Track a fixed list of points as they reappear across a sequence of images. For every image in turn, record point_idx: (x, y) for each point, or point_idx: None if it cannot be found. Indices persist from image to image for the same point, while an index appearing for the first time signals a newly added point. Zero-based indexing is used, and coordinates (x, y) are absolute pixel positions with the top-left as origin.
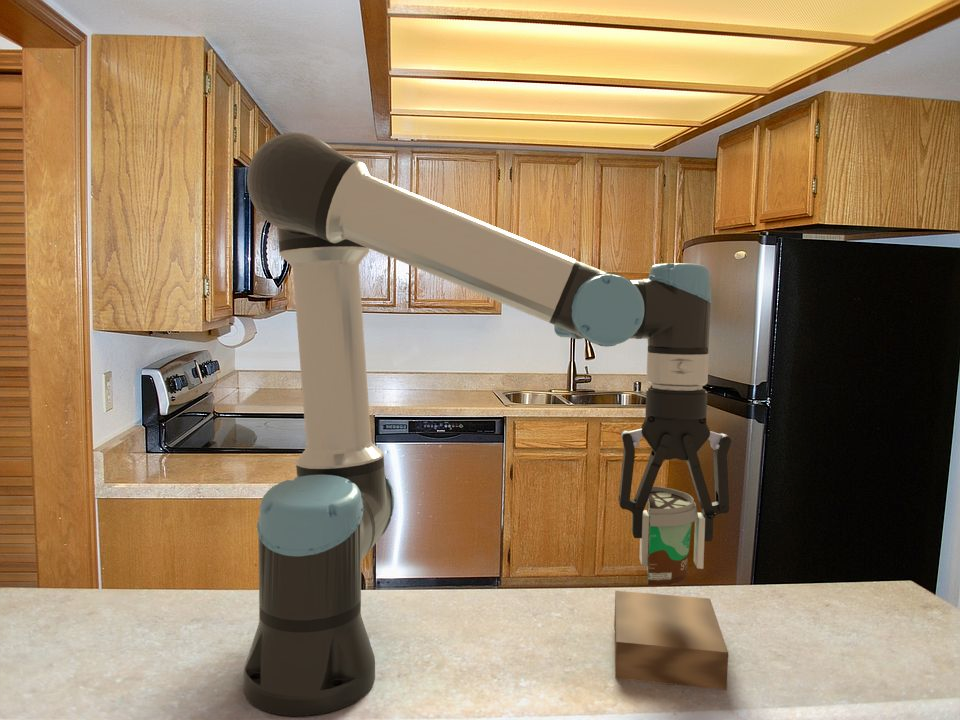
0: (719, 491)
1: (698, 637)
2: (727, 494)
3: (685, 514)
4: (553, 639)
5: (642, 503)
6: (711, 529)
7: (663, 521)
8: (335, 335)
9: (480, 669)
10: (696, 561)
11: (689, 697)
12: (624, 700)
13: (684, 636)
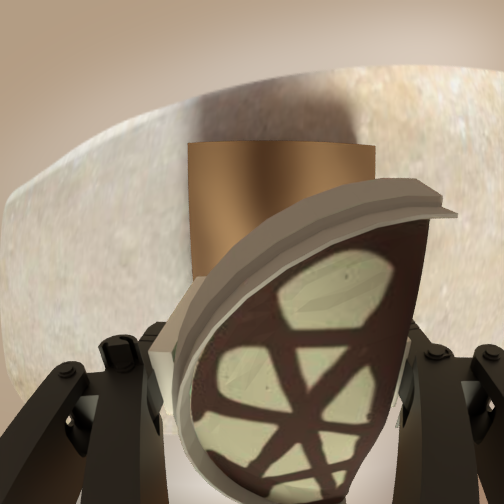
0: (45, 422)
1: (231, 188)
2: (27, 405)
3: (230, 274)
4: (433, 250)
5: (434, 375)
6: (142, 341)
7: (362, 188)
8: None
9: (500, 156)
10: None
11: (256, 114)
12: (345, 92)
13: (255, 187)
